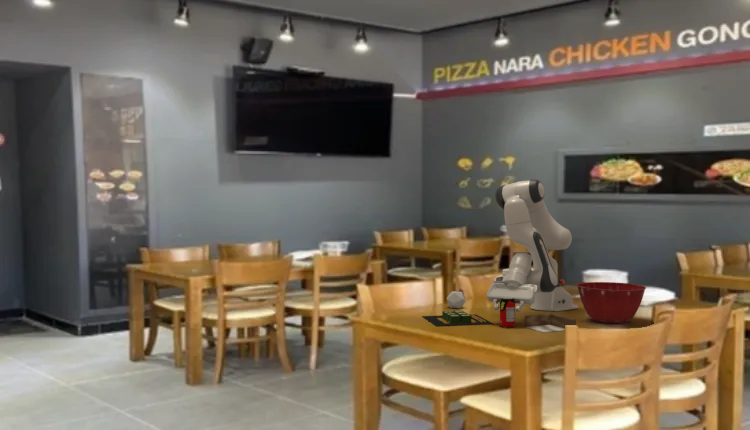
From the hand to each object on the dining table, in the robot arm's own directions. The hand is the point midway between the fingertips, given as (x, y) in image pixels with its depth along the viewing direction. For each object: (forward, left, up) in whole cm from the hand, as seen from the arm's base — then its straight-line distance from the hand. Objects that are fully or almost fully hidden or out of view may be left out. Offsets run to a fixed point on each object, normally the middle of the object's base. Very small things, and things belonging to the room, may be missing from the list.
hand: (506, 309), depth 326 cm
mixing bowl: (-48, +8, -7) cm, 49 cm away
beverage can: (-1, 0, -7) cm, 7 cm away
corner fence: (-13, +12, -7) cm, 19 cm away
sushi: (+11, -22, -8) cm, 26 cm away
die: (-6, -52, -7) cm, 53 cm away
